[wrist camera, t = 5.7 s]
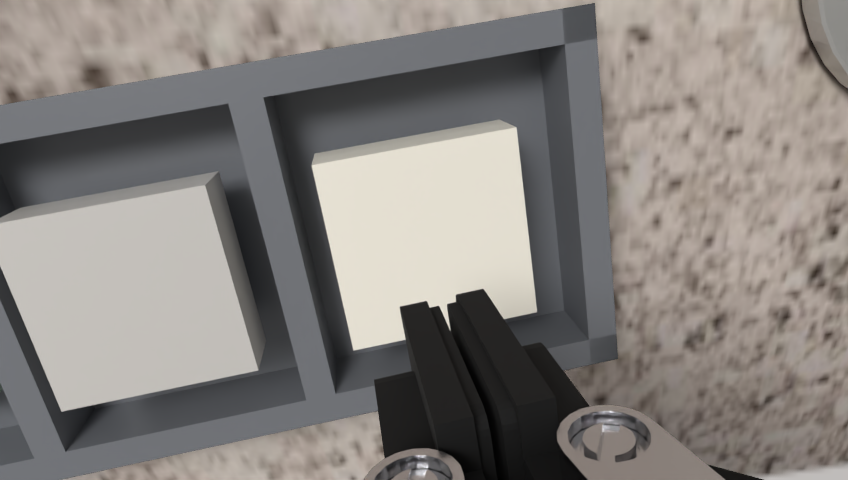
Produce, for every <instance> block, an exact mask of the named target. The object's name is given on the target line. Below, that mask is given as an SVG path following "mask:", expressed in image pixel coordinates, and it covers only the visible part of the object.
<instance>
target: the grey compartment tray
mask: <svg viewBox="0 0 848 480" xmlns="http://www.w3.org/2000/svg"><path fill="white" fill-rule="evenodd" d="M494 120H502V121H504V122H506V123H508V124H510V125H513V126H515V127H517V136H518V145H519V154H520V163H521V171H522V180H523V189H524V198H525V207H526V216H527V225H528V234H529V243H530V252H531V261H532V270H533V279H534V288H535V297H536V306H537V312H536V313H531V314H526V315H522V316H517V317H512V318H507V319H504V320H505V322H506V323H507V325H508V326H509V328H510V329H511V331H512V332H513V334H514V335H515V337H516V338H517V340H518V341H519V343H520V344H521V346H525V345H529V344H534V343H538V342H541V343H542V344H543V345H544V346H545V347H546V348H547V350H548V351H549V352H550V354H551V355H552V356H553V358H554V359H555V361H556V362H557V363H558V365H559V366H560V367H561V369H562V370H563V371H564V370H568V369H573V368H577V367H582V366H587V365H591V364H596V363H600V362H605V361H610V360H614V359H618V353H617V337H616V322H615V307H614V291H613V276H612V261H611V245H610V230H609V215H608V199H607V184H606V169H605V153H604V138H603V123H602V107H601V92H600V77H599V61H598V46H597V31H596V15H595V3H592V4H587V5H581V6H575V7H569V8H563V9H558V10H552V11H546V12H540V13H534V14H528V15H523V16H517V17H511V18H505V19H499V20H493V21H488V22H482V23H476V24H470V25H464V26H459V27H453V28H447V29H441V30H435V31H429V32H424V33H418V34H412V35H406V36H400V37H394V38H389V39H383V40H377V41H371V42H365V43H360V44H354V45H348V46H342V47H336V48H330V49H325V50H319V51H313V52H307V53H301V54H295V55H290V56H284V57H278V58H272V59H266V60H260V61H255V62H249V63H243V64H237V65H231V66H226V67H220V68H214V69H208V70H202V71H196V72H191V73H185V74H179V75H173V76H167V77H161V78H156V79H150V80H144V81H138V82H132V83H127V84H121V85H115V86H109V87H103V88H97V89H92V90H86V91H80V92H74V93H68V94H62V95H57V96H51V97H45V98H39V99H33V100H27V101H22V102H16V103H10V104H4V105H0V218H1V217H3V216H5V215H7V214H9V213H11V212H13V211H15V210H17V209H19V208H22V207H27V206H32V205H38V204H43V203H49V202H54V201H60V200H65V199H70V198H76V197H81V196H87V195H92V194H98V193H103V192H108V191H114V190H119V189H125V188H130V187H136V186H141V185H146V184H152V183H157V182H163V181H168V180H174V179H179V178H184V177H190V176H195V175H201V174H206V173H212V172H217V171H219V174H220V177H221V181H222V184H223V188H224V192H225V195H226V199H227V202H228V206H229V209H230V213H231V217H232V220H233V224H234V227H235V231H236V235H237V238H238V242H239V245H240V249H241V253H242V256H243V260H244V263H245V267H246V271H247V274H248V278H249V281H250V285H251V288H252V292H253V296H254V299H255V303H256V306H257V310H258V314H259V317H260V321H261V324H262V328H263V332H264V335H265V339H266V343H265V347H264V351H263V355H262V359H261V363H260V366H259V370H258V371H254V372H249V373H244V374H239V375H235V376H230V377H225V378H220V379H215V380H211V381H206V382H201V383H196V384H192V385H187V386H182V387H177V388H172V389H168V390H163V391H158V392H153V393H148V394H144V395H139V396H134V397H129V398H125V399H120V400H115V401H110V402H105V403H101V404H96V405H91V406H86V407H82V408H77V409H72V410H67V411H62V412H61V409H60V407H59V404H58V402H57V400H56V397H55V395H54V393H53V390H52V388H51V385H50V383H49V381H48V378H47V376H46V374H45V371H44V369H43V366H42V364H41V362H40V359H39V357H38V355H37V352H36V350H35V347H34V345H33V343H32V340H31V338H30V336H29V333H28V331H27V328H26V326H25V324H24V321H23V319H22V317H21V314H20V312H19V309H18V307H17V305H16V302H15V300H14V298H13V295H12V293H11V290H10V288H9V286H8V283H7V281H6V279H5V276H4V274H3V271H2V269H1V267H0V384H1V386H2V388H3V390H2V391H1V392H0V480H62V479H66V478H71V477H75V476H80V475H85V474H89V473H94V472H98V471H103V470H108V469H112V468H117V467H121V466H126V465H131V464H135V463H140V462H144V461H149V460H154V459H158V458H163V457H167V456H172V455H177V454H181V453H186V452H191V451H195V450H200V449H204V448H209V447H214V446H218V445H223V444H227V443H232V442H237V441H241V440H246V439H250V438H255V437H260V436H264V435H269V434H273V433H278V432H283V431H287V430H292V429H296V428H301V427H306V426H310V425H315V424H319V423H324V422H329V421H333V420H338V419H343V418H347V417H352V416H356V415H361V414H366V413H370V412H375V411H378V406H377V399H376V392H375V385H374V379H379V378H383V377H387V376H392V375H396V374H401V373H405V372H410V371H412V370H411V365H410V360H409V354H408V349H407V344H406V340H402V341H397V342H392V343H388V344H383V345H378V346H373V347H368V348H364V349H359V350H354V351H353V346H352V342H351V337H350V333H349V329H348V324H347V320H346V315H345V311H344V307H343V302H342V298H341V293H340V289H339V284H338V280H337V276H336V271H335V267H334V262H333V258H332V254H331V249H330V245H329V240H328V236H327V232H326V227H325V223H324V218H323V214H322V209H321V205H320V201H319V196H318V192H317V187H316V183H315V179H314V174H313V170H312V161H313V158H314V154H315V153H320V152H326V151H331V150H337V149H342V148H347V147H353V146H358V145H364V144H369V143H375V142H380V141H385V140H391V139H396V138H402V137H407V136H413V135H418V134H423V133H429V132H434V131H440V130H445V129H451V128H456V127H461V126H467V125H472V124H478V123H483V122H489V121H494ZM450 331H451V330H450Z"/></svg>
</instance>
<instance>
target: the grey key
mask: <svg viewBox="0 0 848 480" xmlns="http://www.w3.org/2000/svg"><path fill="white" fill-rule="evenodd" d="M0 267H1V269H2V271H3V274H4V276H5V279H6V281H7V283H8V286H9V288H10V290H11V293H12V295H13V298H14V300H15V302H16V305H17V307H18V309H19V312H20V314H21V317H22V319H23V321H24V324H25V326H26V328H27V331H28V333H29V336H30V338H31V340H32V343H33V345H34V347H35V350H36V352H37V355H38V357H39V359H40V362H41V364H42V366H43V369H44V371H45V374H46V376H47V378H48V381H49V383H50V385H51V388H52V390H53V393H54V395H55V397H56V400H57V402H58V404H59V407H60V409H61V412H62V411H67V410H72V409H77V408H82V407H86V406H91V405H96V404H101V403H105V402H110V401H115V400H120V399H125V398H129V397H134V396H139V395H144V394H148V393H153V392H158V391H163V390H168V389H172V388H177V387H182V386H187V385H192V384H196V383H201V382H206V381H211V380H215V379H220V378H225V377H230V376H235V375H239V374H244V373H249V372H254V371H258V370H259V366H260V363H261V359H262V355H263V351H264V347H265V343H266V339H265V335H264V332H263V328H262V324H261V321H260V317H259V314H258V310H257V306H256V303H255V299H254V296H253V292H252V288H251V285H250V281H249V278H248V274H247V271H246V267H245V263H244V260H243V256H242V253H241V249H240V245H239V242H238V238H237V235H236V231H235V227H234V224H233V220H232V217H231V213H230V209H229V206H228V202H227V199H226V195H225V192H224V188H223V184H222V181H221V177H220V174H219V171H217V172H212V173H206V174H201V175H195V176H190V177H184V178H179V179H174V180H168V181H163V182H157V183H152V184H146V185H141V186H136V187H130V188H125V189H119V190H114V191H108V192H103V193H98V194H92V195H87V196H81V197H76V198H70V199H65V200H60V201H54V202H49V203H43V204H38V205H32V206H27V207H22V208H19V209H17V210H15V211H13V212H11V213H9V214H7V215H5V216H3V217H1V218H0Z"/></svg>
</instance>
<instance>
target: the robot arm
mask: <svg viewBox="0 0 848 480" xmlns="http://www.w3.org/2000/svg"><path fill="white" fill-rule="evenodd" d="M802 8H803V13H804V16H805V20H806V23H807V27H808V31H809V34H810V38H811V40H812V42H813V44H814V46H815V48H816V50H817V52H818V54H819V56H820V57H821V59H822V61H823V63H824V65H825V66H826V67H827V68H828V69H829V70H830V72H831V73H832V74H833V75H834V76H835V78H836V79H837V80H838V81H839V82H840V83H841V84H842V85H843V86H845V87H846V88H847V89H848V0H802ZM447 311H448V317H449V323H450V329H451V331H450V329H449V327H448V325H447V322H446V320H445V318H444V316H443V313H442V311H441V309H440V307H439V306H435V307H429V305H428V302H427V301H424V302H419V303H414V304H410V305H405V306H400V313H401V318H402V323H403V329H404V334H405V339H406V344H407V349H408V354H409V360H410V365H411V370H412V371H410V372H405V373H401V374H396V375H392V376H387V377H383V378H379V379H374V385H375V392H376V399H377V406H378V413H379V420H380V427H381V435H382V442H383V449H384V456H385V459H383V460H382V461H380V462H379V463H378V464H377V465H375V466H374V467H373V468H372V469H371V470H370V471H369V473H368V474H367V475H366V477H365V478H364V480H763V479H759V478H755V477H752V476H748V475H744V474H740V473H737V472H733V471H729V470H726V469H722V468H718V467H714V466H711V465H707V464H706V463H704V462H703V461H702V460H701V459H700V458H698V457H697V456H696V455H695V454H694V453H692V452H691V451H690V450H689V449H688V448H686V447H685V446H684V445H683V444H682V443H680V442H679V441H678V440H677V439H675V438H674V437H673V436H672V435H671V434H669V433H668V432H667V431H666V430H665V429H663V428H662V427H661V426H660V425H659V424H657V423H656V422H655V421H654V420H653V419H651V418H649V417H648V416H646V415H645V414H643V413H641V412H639V411H636V410H634V409H631V408H628V407H623V406H616V405H595V406H589V405H588V404H587V402H586V401H585V399H584V398H583V397H582V395H581V394H580V393H579V391H578V390H577V389H576V387H575V386H574V385H573V383H572V382H571V381H570V379H569V378H568V377H567V375H566V374H565V373H564V371H563V370H562V369H561V367H560V366H559V365H558V363H557V362H556V361H555V359H554V358H553V356H552V355H551V354H550V352H549V351H548V350H547V348H546V347H545V346H544V345H543V344H542V343H541V342H538V343H534V344H529V345H525V346H521V344H520V343H519V341H518V340H517V338H516V337H515V335H514V334H513V332H512V331H511V329H510V328H509V326H508V325H507V323H506V322H505V320H504V319H503V317H502V316H501V314H500V313H499V311H498V310H497V308H496V307H495V305H494V304H493V302H492V301H491V299H490V298H489V296H488V295H487V293H486V292H485V290H484V289H479V290H475V291H470V292H465V293H461V294H457V295H456V302H454V303H449V304H447Z"/></svg>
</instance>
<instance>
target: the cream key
mask: <svg viewBox="0 0 848 480" xmlns="http://www.w3.org/2000/svg"><path fill="white" fill-rule="evenodd" d="M312 170H313V174H314V179H315V183H316V187H317V192H318V196H319V201H320V205H321V209H322V214H323V218H324V223H325V227H326V232H327V236H328V240H329V245H330V249H331V254H332V258H333V262H334V267H335V271H336V276H337V280H338V284H339V289H340V293H341V298H342V302H343V307H344V311H345V315H346V320H347V324H348V329H349V333H350V337H351V342H352V346H353V351H354V350H359V349H364V348H368V347H373V346H378V345H383V344H388V343H392V342H397V341H402V340H406V339H405V334H404V329H403V323H402V318H401V313H400V306H405V305H410V304H414V303H419V302H424V301H427V302H428V305H429V307H435V306H439V307H440V309H441V311H442V313H443V316H444V318H445V320H446V322H447V325H448V327H449V329H450V323H449V317H448V311H447V304H449V303H454V302H456V295H457V294H461V293H465V292H470V291H475V290H479V289H484V290H485V292H486V293H487V295H488V296H489V298H490V299H491V301H492V302H493V304H494V305H495V307H496V308H497V310H498V311H499V313H500V314H501V316H502V317H503V319H507V318H512V317H517V316H522V315H526V314H531V313H536V312H537V306H536V297H535V288H534V279H533V270H532V261H531V252H530V243H529V234H528V225H527V216H526V207H525V198H524V189H523V180H522V171H521V163H520V154H519V145H518V136H517V127H515V126H513V125H510V124H508V123H506V122H504V121H502V120H494V121H489V122H483V123H478V124H472V125H467V126H461V127H456V128H451V129H445V130H440V131H434V132H429V133H423V134H418V135H413V136H407V137H402V138H396V139H391V140H385V141H380V142H375V143H369V144H364V145H358V146H353V147H347V148H342V149H337V150H331V151H326V152H320V153H315V154H314V158H313V161H312ZM450 330H451V329H450Z"/></svg>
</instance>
